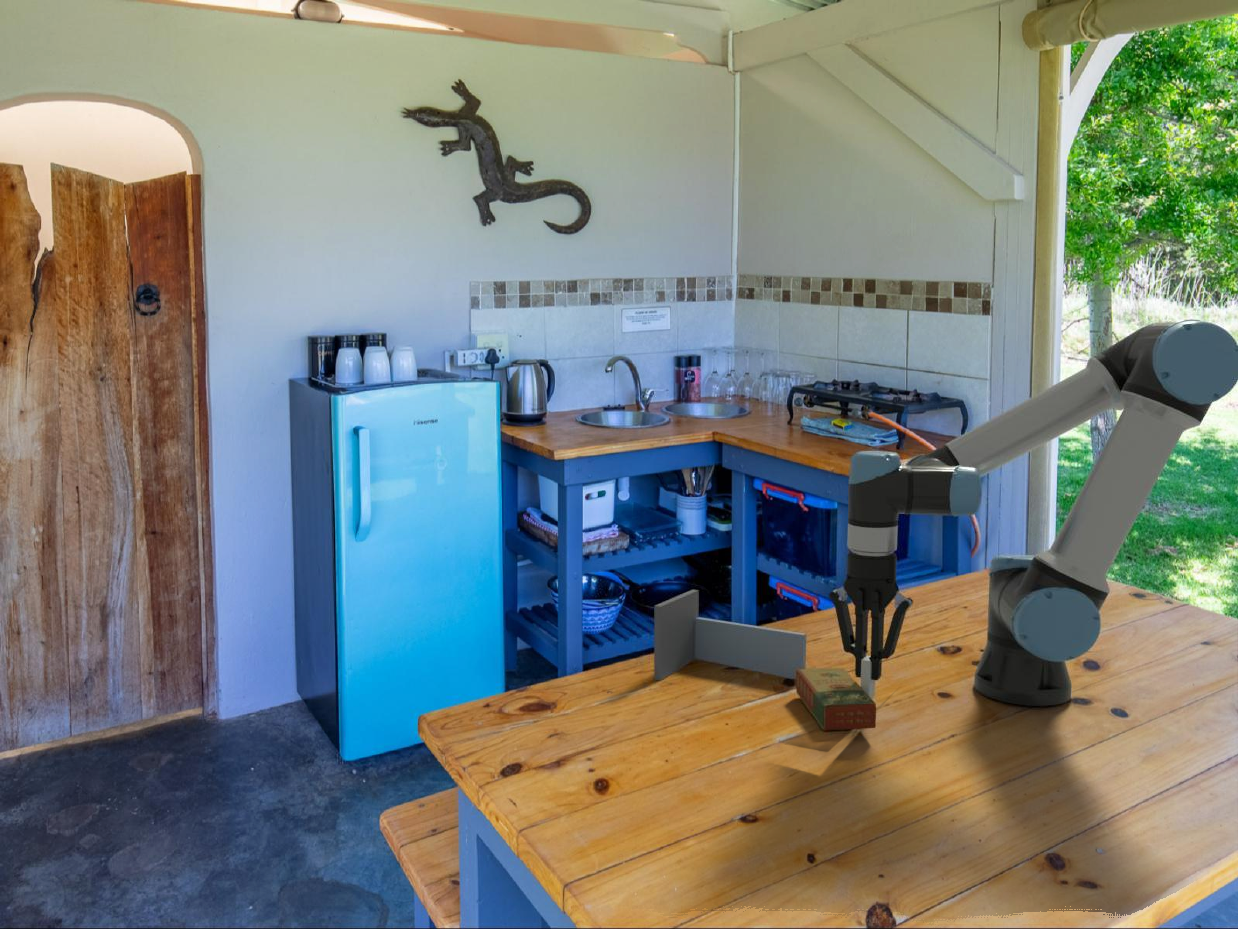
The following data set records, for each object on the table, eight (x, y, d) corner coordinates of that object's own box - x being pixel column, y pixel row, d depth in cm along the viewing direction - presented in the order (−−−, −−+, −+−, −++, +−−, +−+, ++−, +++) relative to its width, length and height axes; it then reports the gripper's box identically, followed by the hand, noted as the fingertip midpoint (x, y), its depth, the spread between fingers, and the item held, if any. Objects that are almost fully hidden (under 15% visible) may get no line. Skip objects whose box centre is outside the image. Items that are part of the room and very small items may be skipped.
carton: (844, 691, 174) (844, 666, 173) (877, 729, 158) (878, 702, 157) (794, 693, 173) (795, 668, 172) (823, 731, 157) (823, 704, 156)
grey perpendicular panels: (805, 678, 182) (806, 605, 181) (772, 702, 170) (773, 623, 169) (692, 658, 194) (693, 589, 192) (654, 679, 182) (654, 605, 180)
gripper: (920, 551, 163) (915, 698, 166) (839, 543, 170) (836, 684, 173) (906, 559, 157) (901, 713, 160) (823, 550, 164) (819, 697, 166)
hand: (867, 698), depth 166 cm, fingers closed
